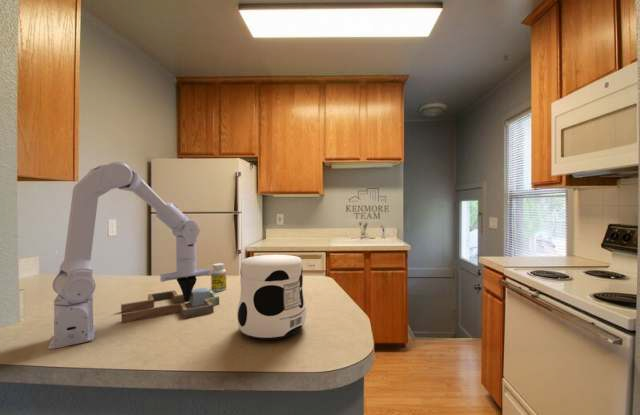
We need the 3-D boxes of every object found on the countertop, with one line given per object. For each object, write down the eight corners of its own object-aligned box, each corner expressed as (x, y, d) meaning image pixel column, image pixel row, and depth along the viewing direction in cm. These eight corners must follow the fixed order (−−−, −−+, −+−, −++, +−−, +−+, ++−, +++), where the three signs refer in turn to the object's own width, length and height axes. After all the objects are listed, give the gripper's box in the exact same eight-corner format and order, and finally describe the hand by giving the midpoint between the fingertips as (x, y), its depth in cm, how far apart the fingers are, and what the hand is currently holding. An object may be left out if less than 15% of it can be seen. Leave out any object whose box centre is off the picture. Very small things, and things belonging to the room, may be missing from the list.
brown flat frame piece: (225, 310, 89) (225, 302, 89) (121, 331, 74) (121, 322, 74) (206, 291, 108) (206, 285, 108) (120, 305, 93) (120, 298, 93)
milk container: (248, 316, 84) (247, 253, 83) (308, 317, 83) (308, 254, 83) (226, 346, 66) (226, 266, 66) (303, 347, 66) (302, 267, 66)
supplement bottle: (227, 287, 113) (226, 262, 113) (225, 291, 108) (225, 265, 108) (212, 288, 112) (212, 263, 112) (210, 292, 107) (210, 265, 107)
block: (209, 303, 95) (209, 291, 95) (193, 306, 92) (193, 293, 92) (205, 299, 99) (205, 287, 99) (189, 302, 96) (189, 290, 96)
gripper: (206, 254, 100) (207, 293, 101) (158, 258, 92) (159, 301, 92) (212, 257, 95) (212, 298, 95) (161, 262, 86) (162, 308, 87)
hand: (186, 300), depth 93 cm, fingers closed
